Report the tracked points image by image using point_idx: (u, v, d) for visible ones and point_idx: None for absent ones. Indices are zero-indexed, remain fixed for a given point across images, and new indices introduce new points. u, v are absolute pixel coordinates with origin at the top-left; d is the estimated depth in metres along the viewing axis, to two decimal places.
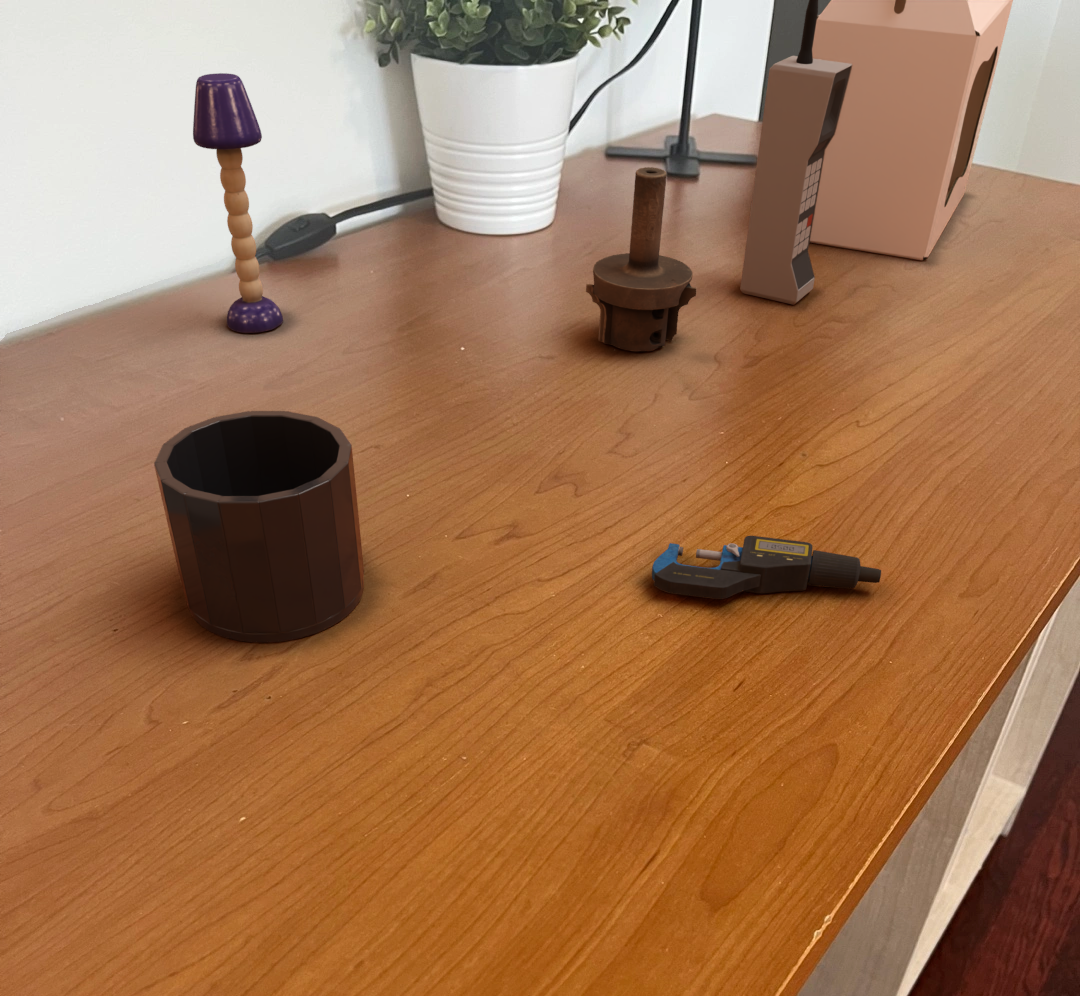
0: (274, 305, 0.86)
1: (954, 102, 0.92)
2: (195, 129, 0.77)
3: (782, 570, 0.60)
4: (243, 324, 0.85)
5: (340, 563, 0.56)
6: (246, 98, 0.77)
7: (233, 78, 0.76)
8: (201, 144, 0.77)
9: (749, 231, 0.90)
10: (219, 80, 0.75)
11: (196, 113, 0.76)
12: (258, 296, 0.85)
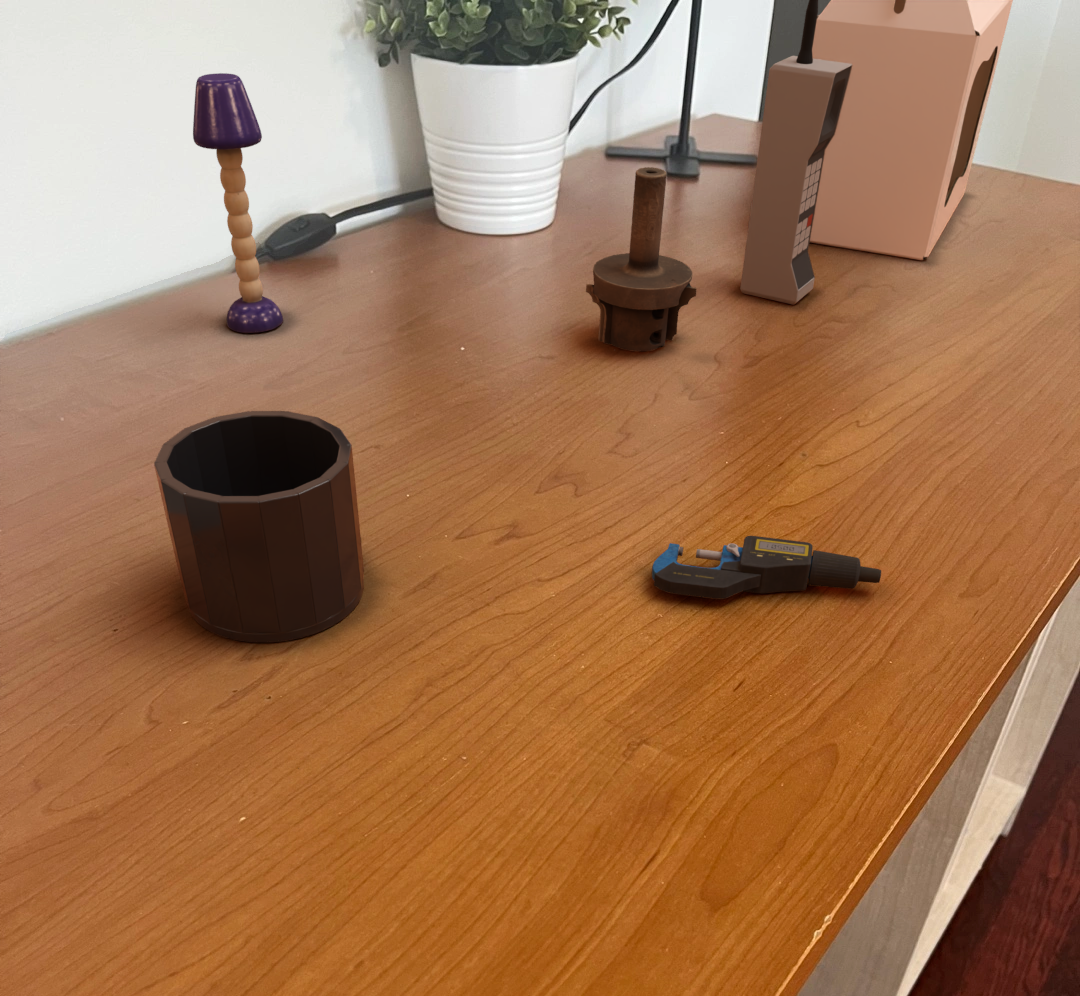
0: (274, 305, 0.86)
1: (954, 102, 0.92)
2: (195, 129, 0.77)
3: (782, 570, 0.60)
4: (243, 324, 0.85)
5: (340, 563, 0.56)
6: (246, 98, 0.77)
7: (233, 78, 0.76)
8: (201, 144, 0.77)
9: (749, 231, 0.90)
10: (219, 80, 0.75)
11: (196, 113, 0.76)
12: (258, 296, 0.85)
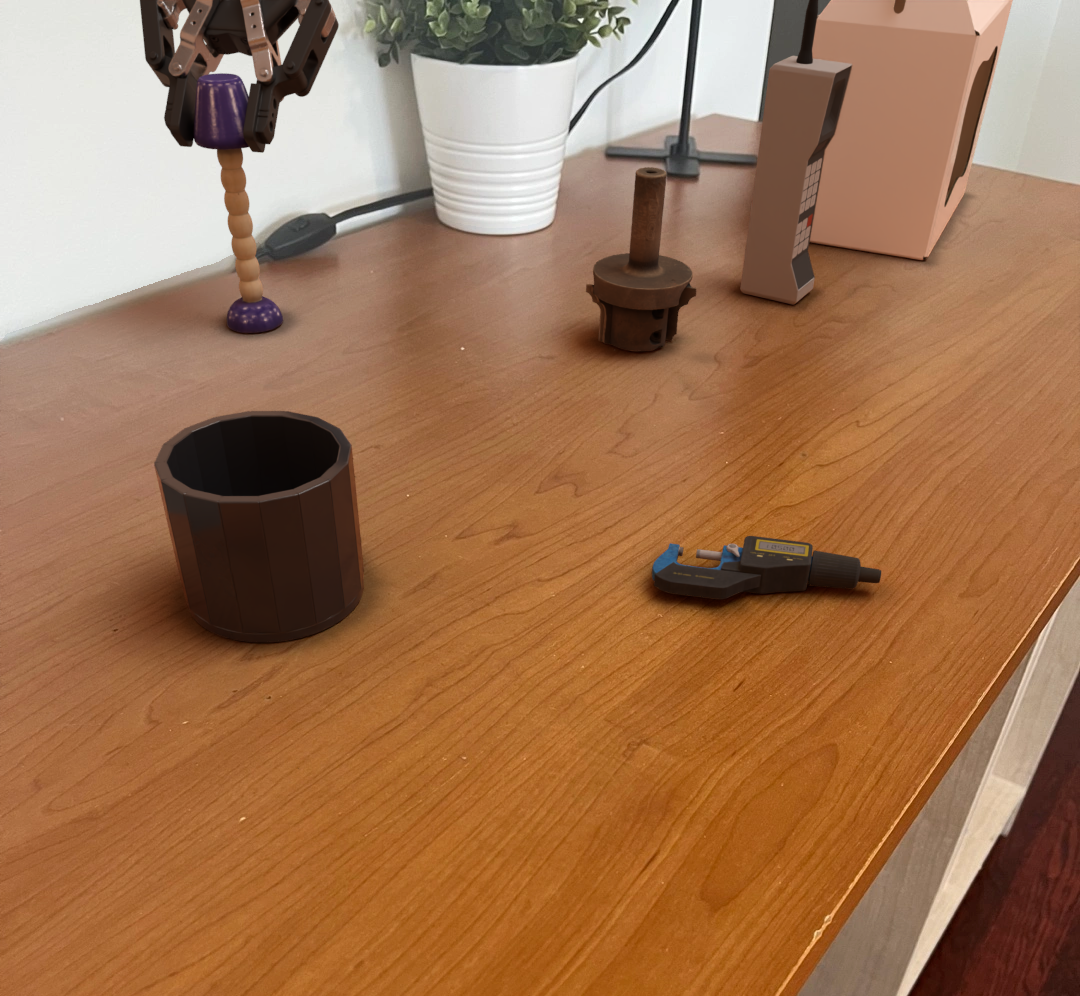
0: (274, 305, 0.86)
1: (954, 102, 0.92)
2: (196, 129, 0.77)
3: (782, 570, 0.60)
4: (243, 324, 0.85)
5: (340, 563, 0.56)
6: (247, 98, 0.77)
7: (234, 78, 0.76)
8: (202, 144, 0.77)
9: (749, 231, 0.90)
10: (220, 80, 0.75)
11: (197, 113, 0.76)
12: (258, 296, 0.85)
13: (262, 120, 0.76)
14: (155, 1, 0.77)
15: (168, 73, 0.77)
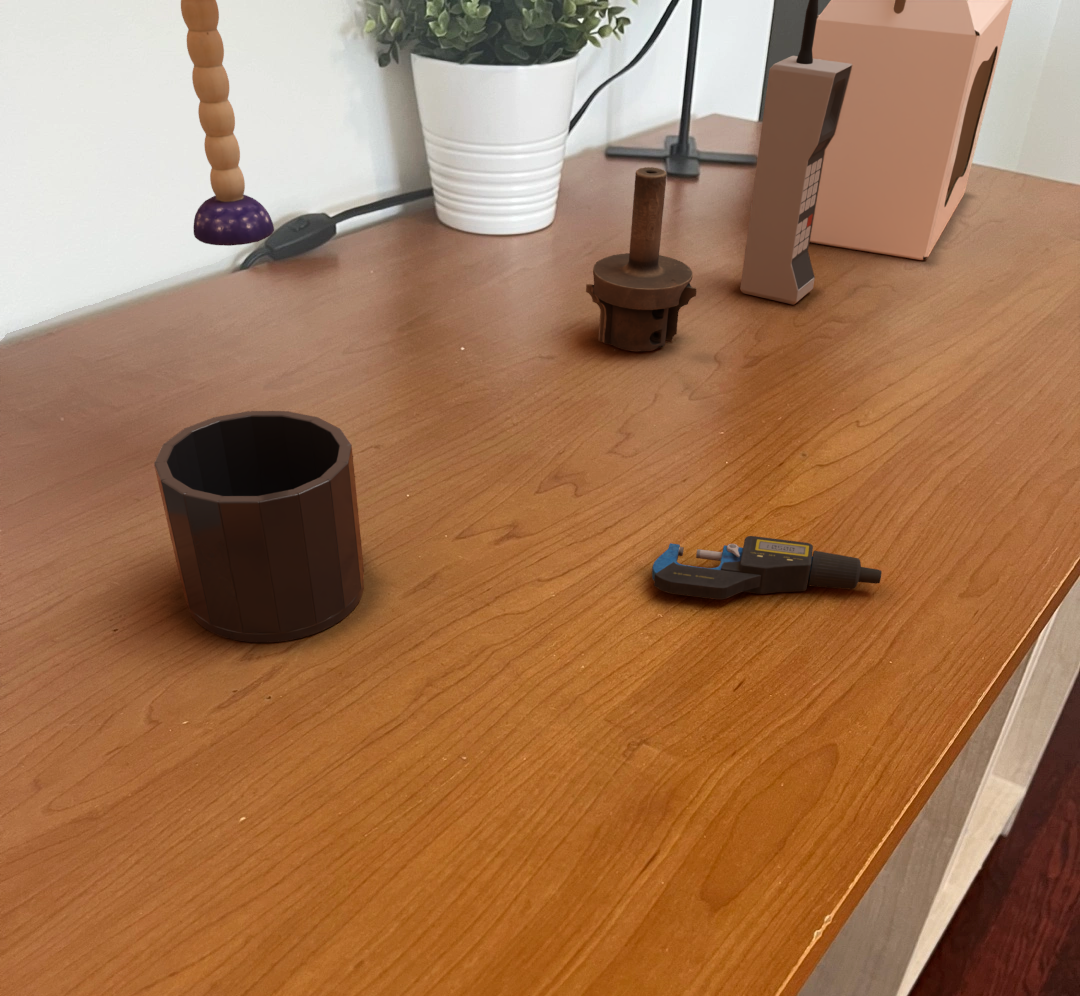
0: (261, 207, 0.60)
1: (954, 102, 0.92)
2: None
3: (782, 570, 0.59)
4: (216, 233, 0.59)
5: (340, 563, 0.56)
6: None
7: None
8: None
9: (749, 231, 0.90)
10: None
11: None
12: (238, 193, 0.59)
13: None
14: None
15: None
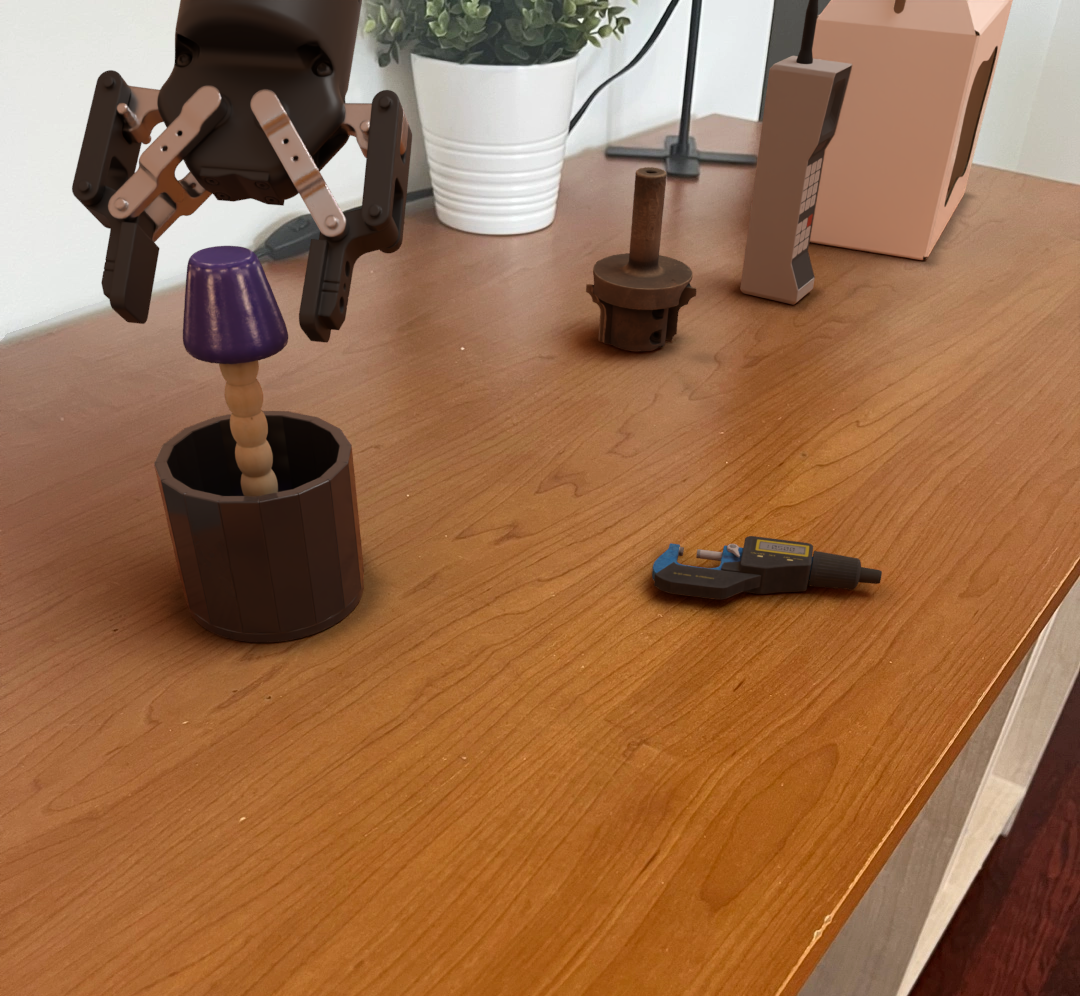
0: None
1: (954, 102, 0.92)
2: (186, 332, 0.50)
3: (782, 571, 0.59)
4: None
5: (340, 563, 0.56)
6: (265, 285, 0.49)
7: (245, 258, 0.48)
8: (196, 356, 0.50)
9: (749, 231, 0.90)
10: (223, 263, 0.48)
11: (187, 310, 0.49)
12: None
13: (329, 297, 0.48)
14: (115, 103, 0.49)
15: (108, 213, 0.49)
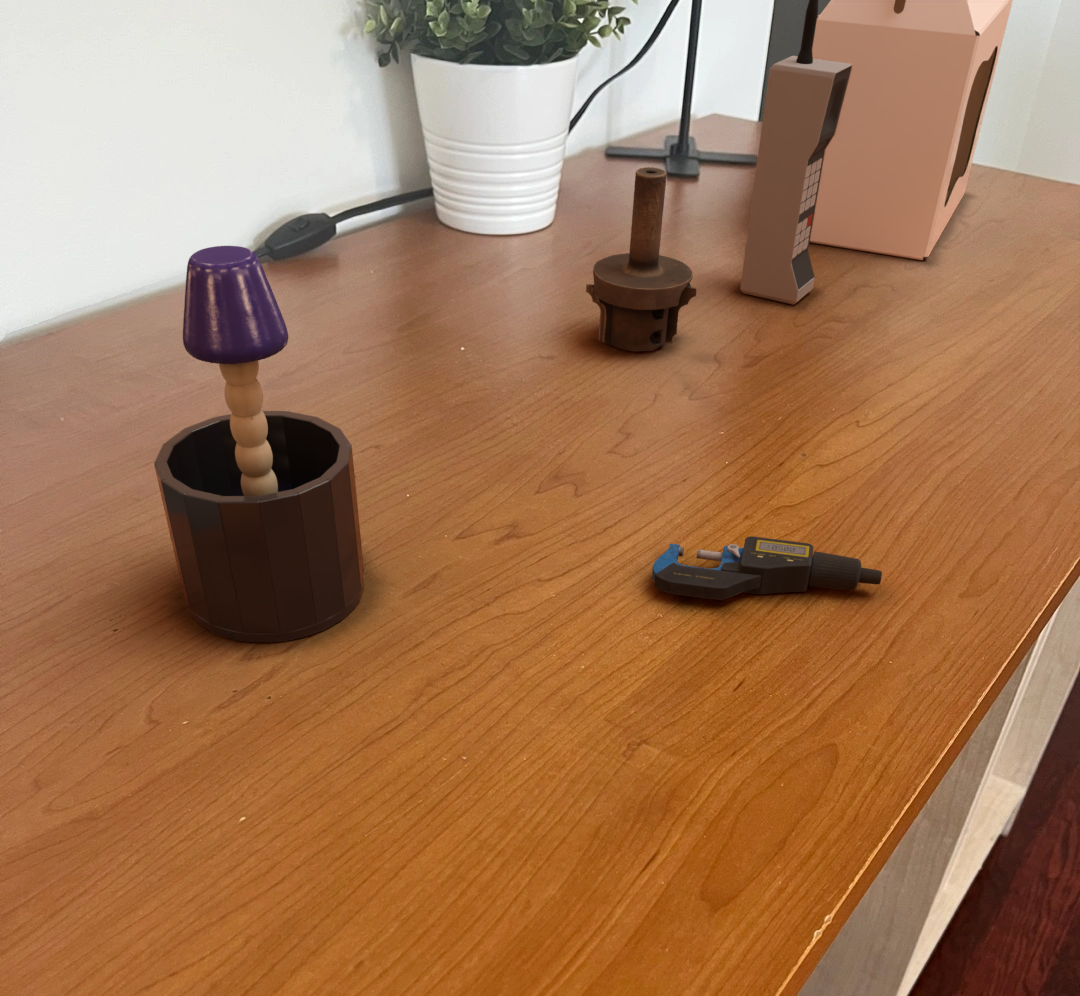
0: None
1: (954, 102, 0.92)
2: (186, 332, 0.50)
3: (782, 571, 0.59)
4: None
5: (340, 563, 0.56)
6: (265, 285, 0.49)
7: (245, 258, 0.48)
8: (196, 356, 0.50)
9: (749, 231, 0.90)
10: (223, 263, 0.48)
11: (187, 310, 0.49)
12: None
13: None
14: None
15: None
